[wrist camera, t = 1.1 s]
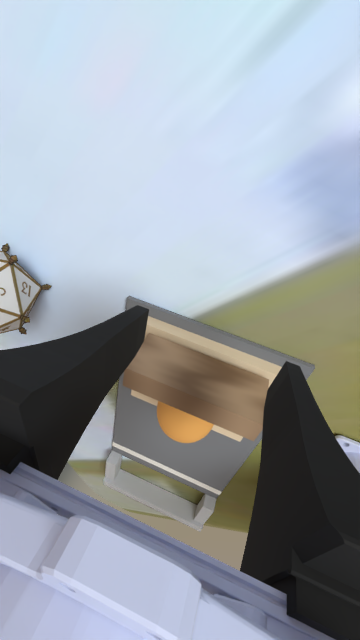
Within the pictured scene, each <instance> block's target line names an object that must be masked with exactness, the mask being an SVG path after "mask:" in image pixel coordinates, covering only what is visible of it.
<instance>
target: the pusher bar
mask: <svg viewBox="0 0 360 640" xmlns="http://www.w3.org/2000/svg"><path fill="white" fill-rule="evenodd" d="M123 386H125V387H127V388H129V389H132V390H134V391H136V392H139V393H141V394H144V395H146V396H148V397H151V398H153V399H155V400H158V401H160V402H162V403H165V404H167V405H169V406H172V407H174V408H176V409H179V410H181V411H183V412H186V413H188V414H190V415H193V416H195V417H198V418H200V419H202V420H205V421H207V422H209V423H212V424H214V425H216V426H219V427H221V428H223V429H226V430H228V431H230V432H233V433H235V434H237V435H240V436H242V437H244V438H247V439H249V440H252V441H254V440H255V439H256V438H257V436H258V435H259V434H260V432H261V431H262V429H263V413H264V405H265V400H266V395H267V390H268V388H269V379H267V378H264V377H262V376H259V375H257V374H254V373H251V372H249V371H246V370H244V369H241V368H239V367H236V366H233V365H231V364H228V363H226V362H223V361H221V360H218V359H215V358H213V357H210V356H208V355H205V354H203V353H200V352H198V351H195V350H192V349H190V348H187V347H185V346H182V345H180V344H177V343H174V342H172V341H169V340H167V339H164V338H162V337H159V336H157V335H154V334H151V333H149V334H148V335H147V337H146V338H145V339H144V342H143V344H142V345H141V347H140V349H139V351H138V352H137V354H136V356H135V357H134V359H133V360H132V362H131V363H130V364H129V366H128V367H127V368H126V369H125V371H124V377H123Z"/></svg>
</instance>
